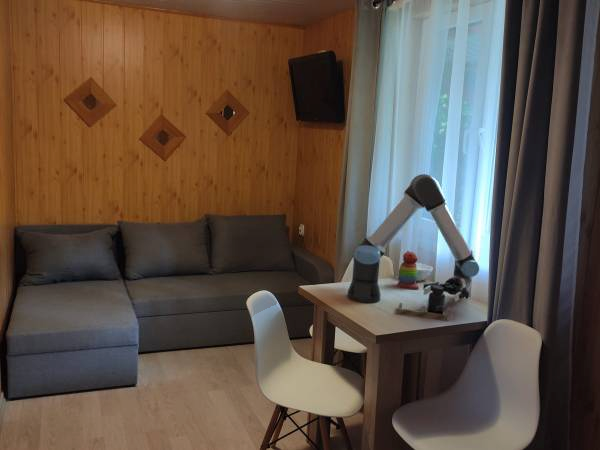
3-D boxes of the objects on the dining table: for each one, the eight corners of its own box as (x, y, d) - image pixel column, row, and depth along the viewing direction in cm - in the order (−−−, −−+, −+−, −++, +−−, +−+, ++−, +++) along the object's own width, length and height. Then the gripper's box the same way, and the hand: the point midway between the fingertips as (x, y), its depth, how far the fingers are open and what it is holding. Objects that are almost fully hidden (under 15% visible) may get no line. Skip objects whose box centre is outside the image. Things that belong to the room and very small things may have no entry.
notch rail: (397, 313, 249) (397, 308, 249) (399, 307, 258) (399, 302, 258) (447, 320, 244) (448, 316, 244) (448, 314, 253) (448, 309, 253)
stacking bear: (419, 290, 290) (423, 254, 287) (398, 288, 290) (402, 253, 287) (415, 284, 300) (418, 250, 297) (395, 283, 300) (398, 248, 297)
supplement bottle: (440, 318, 246) (443, 290, 244) (424, 314, 249) (427, 287, 248) (445, 314, 252) (448, 287, 250) (430, 310, 255) (432, 284, 253)
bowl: (431, 284, 302) (433, 271, 301) (400, 281, 305) (401, 267, 304) (431, 277, 318) (432, 264, 317) (401, 274, 321) (402, 261, 320)
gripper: (481, 298, 264) (468, 309, 246) (427, 287, 276) (411, 297, 258) (483, 282, 262) (470, 292, 244) (429, 272, 275) (413, 280, 257)
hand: (439, 294), depth 251 cm, fingers open, 13 cm apart
